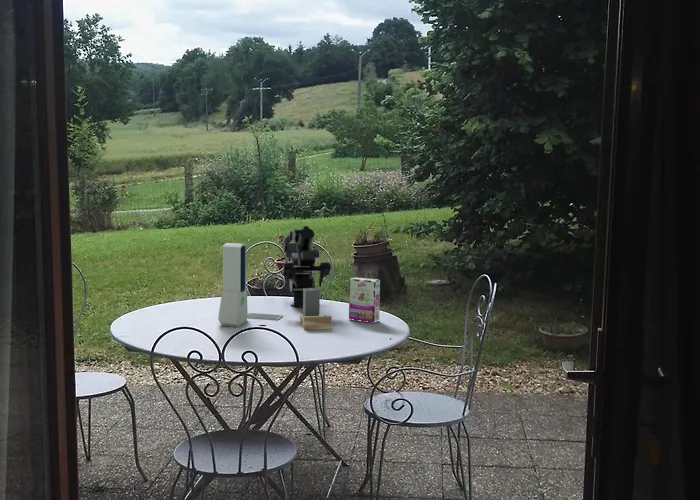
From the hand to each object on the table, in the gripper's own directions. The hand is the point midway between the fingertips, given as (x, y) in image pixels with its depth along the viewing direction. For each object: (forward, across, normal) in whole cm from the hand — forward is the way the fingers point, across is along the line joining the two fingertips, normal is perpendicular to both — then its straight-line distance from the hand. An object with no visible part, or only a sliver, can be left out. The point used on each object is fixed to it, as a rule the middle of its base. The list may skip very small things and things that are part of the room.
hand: (308, 286), depth 292 cm
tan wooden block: (+20, 0, -3) cm, 20 cm away
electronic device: (+14, -30, +3) cm, 33 cm away
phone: (+8, -18, +10) cm, 22 cm away
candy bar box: (+15, +20, +2) cm, 25 cm away
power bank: (+13, 0, +4) cm, 13 cm away
